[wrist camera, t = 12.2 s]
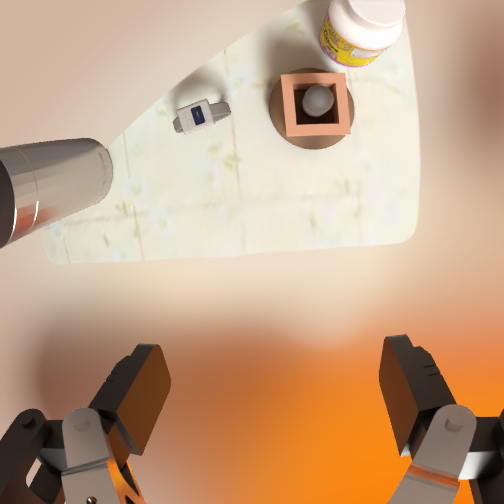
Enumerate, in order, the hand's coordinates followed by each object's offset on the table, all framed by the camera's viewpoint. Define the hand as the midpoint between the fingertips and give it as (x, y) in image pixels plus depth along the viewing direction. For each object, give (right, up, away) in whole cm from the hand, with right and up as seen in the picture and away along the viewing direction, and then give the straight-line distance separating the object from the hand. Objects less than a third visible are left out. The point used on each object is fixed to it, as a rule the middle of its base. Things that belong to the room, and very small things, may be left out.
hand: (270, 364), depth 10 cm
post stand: (+6, +19, +21) cm, 29 cm away
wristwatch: (-6, +19, +23) cm, 30 cm away
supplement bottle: (+10, +27, +18) cm, 34 cm away
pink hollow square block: (+6, +19, +19) cm, 28 cm away
